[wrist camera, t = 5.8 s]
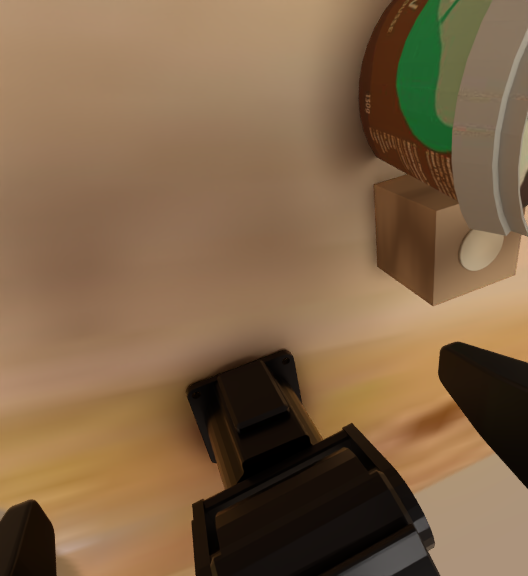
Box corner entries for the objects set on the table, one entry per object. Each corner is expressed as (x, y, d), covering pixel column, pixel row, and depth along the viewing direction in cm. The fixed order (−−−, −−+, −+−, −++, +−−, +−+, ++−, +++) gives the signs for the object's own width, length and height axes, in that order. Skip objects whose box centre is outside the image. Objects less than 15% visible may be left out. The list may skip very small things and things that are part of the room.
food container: (490, -151, 17) (863, -356, 9) (536, -12, 20) (839, -65, 12) (281, 83, 19) (432, 98, 10) (356, 179, 22) (516, 249, 13)
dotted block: (447, 241, 26) (518, 276, 22) (376, 266, 25) (435, 308, 21) (452, 160, 23) (533, 181, 19) (373, 184, 22) (439, 212, 18)
